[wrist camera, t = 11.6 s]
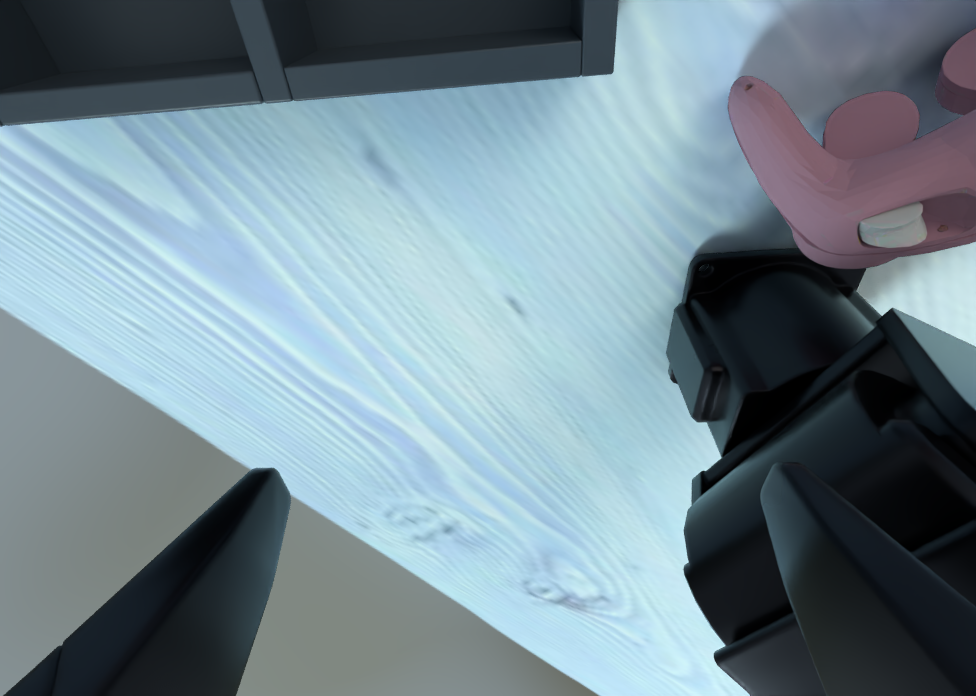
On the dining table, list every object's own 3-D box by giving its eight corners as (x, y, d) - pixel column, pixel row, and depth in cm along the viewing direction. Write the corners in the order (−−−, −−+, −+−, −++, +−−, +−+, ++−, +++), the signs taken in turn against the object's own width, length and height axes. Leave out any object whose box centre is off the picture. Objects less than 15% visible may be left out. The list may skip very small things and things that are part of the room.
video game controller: (727, 169, 18) (831, 322, 15) (707, 80, 15) (838, 257, 12) (1057, -19, 15) (1290, 131, 11) (1138, -199, 11) (1514, -55, 8)
